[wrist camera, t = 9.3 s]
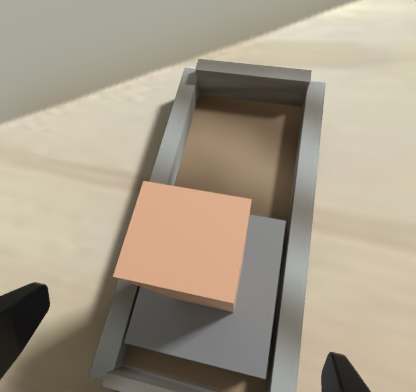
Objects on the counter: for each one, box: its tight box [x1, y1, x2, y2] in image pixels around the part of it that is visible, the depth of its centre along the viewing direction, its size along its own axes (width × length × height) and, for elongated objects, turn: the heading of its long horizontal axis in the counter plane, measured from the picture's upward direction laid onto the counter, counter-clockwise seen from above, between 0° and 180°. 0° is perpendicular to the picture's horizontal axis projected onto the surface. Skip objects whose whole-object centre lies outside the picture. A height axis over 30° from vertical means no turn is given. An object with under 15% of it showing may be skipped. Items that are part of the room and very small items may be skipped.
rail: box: [89, 59, 325, 392], centre depth 20 cm, size 21×10×4 cm, turn 168°
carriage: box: [113, 181, 286, 379], centre depth 13 cm, size 8×7×11 cm
